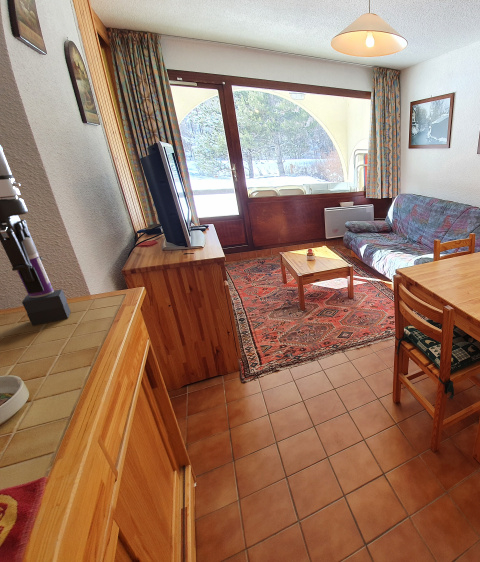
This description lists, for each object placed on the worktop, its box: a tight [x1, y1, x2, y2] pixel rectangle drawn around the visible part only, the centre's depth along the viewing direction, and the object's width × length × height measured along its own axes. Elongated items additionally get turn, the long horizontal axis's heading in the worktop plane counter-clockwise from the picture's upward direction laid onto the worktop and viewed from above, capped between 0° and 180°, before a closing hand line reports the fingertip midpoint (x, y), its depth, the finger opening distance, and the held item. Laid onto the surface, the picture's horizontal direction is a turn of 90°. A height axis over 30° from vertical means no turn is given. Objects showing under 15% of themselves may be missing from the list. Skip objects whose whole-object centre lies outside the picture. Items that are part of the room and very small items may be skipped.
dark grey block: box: [21, 288, 68, 315], centre depth 83 cm, size 7×5×4 cm
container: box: [16, 237, 55, 298], centre depth 79 cm, size 5×5×15 cm
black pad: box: [26, 300, 71, 327], centre depth 84 cm, size 7×5×4 cm
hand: (39, 288), depth 82 cm, fingers closed on container, 5 cm apart
